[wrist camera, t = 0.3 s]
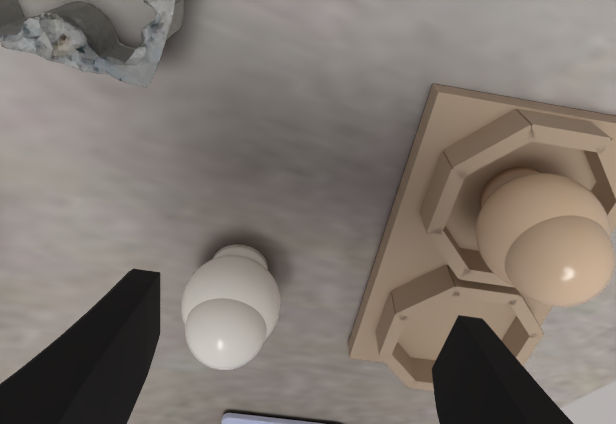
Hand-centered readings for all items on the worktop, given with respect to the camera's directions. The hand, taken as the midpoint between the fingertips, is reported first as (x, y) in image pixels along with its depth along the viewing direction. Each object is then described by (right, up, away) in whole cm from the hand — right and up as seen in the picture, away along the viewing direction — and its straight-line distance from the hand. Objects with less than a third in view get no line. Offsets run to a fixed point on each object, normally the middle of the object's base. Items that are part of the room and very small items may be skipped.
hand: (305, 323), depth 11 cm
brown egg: (+9, +3, +8) cm, 12 cm away
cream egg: (-3, 0, +12) cm, 12 cm away
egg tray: (+8, +1, +11) cm, 13 cm away
